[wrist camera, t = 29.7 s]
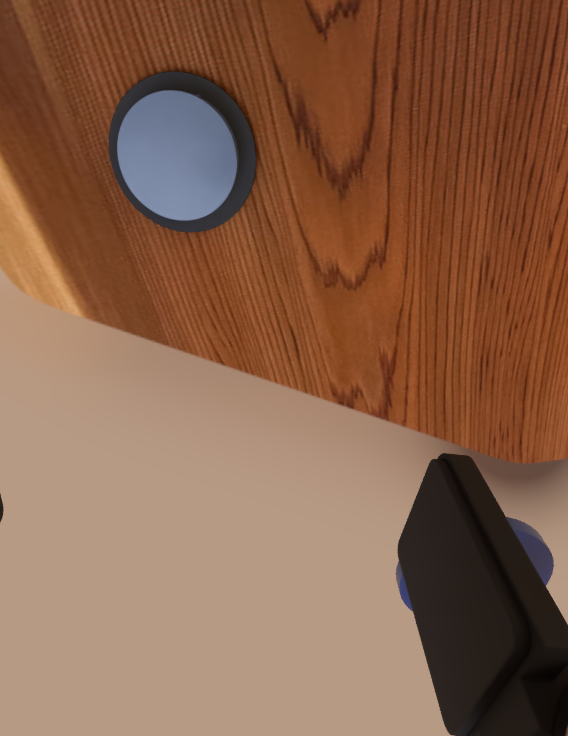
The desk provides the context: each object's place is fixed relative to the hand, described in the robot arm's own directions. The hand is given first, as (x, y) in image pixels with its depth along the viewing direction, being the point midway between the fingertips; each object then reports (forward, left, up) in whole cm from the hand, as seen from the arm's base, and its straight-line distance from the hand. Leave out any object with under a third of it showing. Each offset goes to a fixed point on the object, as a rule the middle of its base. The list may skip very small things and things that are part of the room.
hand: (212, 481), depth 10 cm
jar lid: (+4, +5, -22) cm, 23 cm away
